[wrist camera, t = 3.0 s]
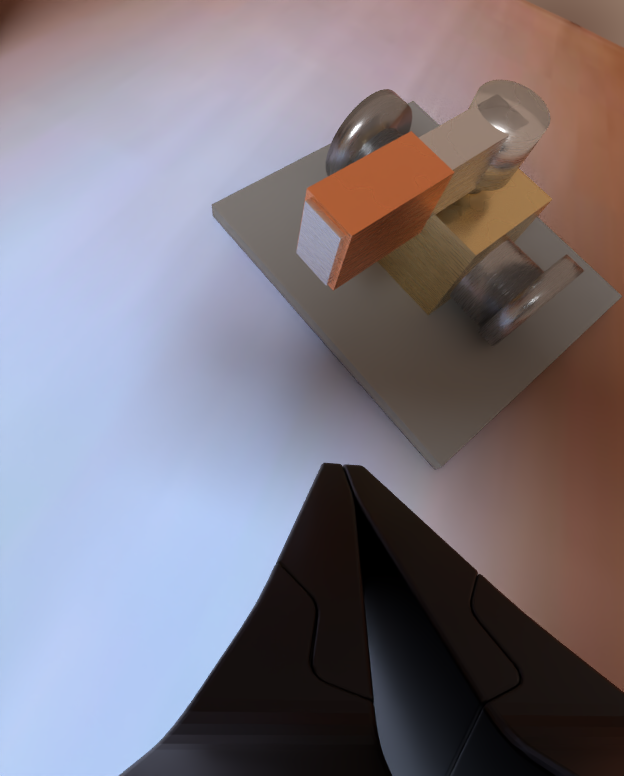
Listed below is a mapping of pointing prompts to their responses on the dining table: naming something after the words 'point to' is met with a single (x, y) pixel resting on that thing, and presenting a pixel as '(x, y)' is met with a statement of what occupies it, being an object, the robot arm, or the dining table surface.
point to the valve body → (460, 235)
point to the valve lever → (416, 181)
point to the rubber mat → (411, 317)
